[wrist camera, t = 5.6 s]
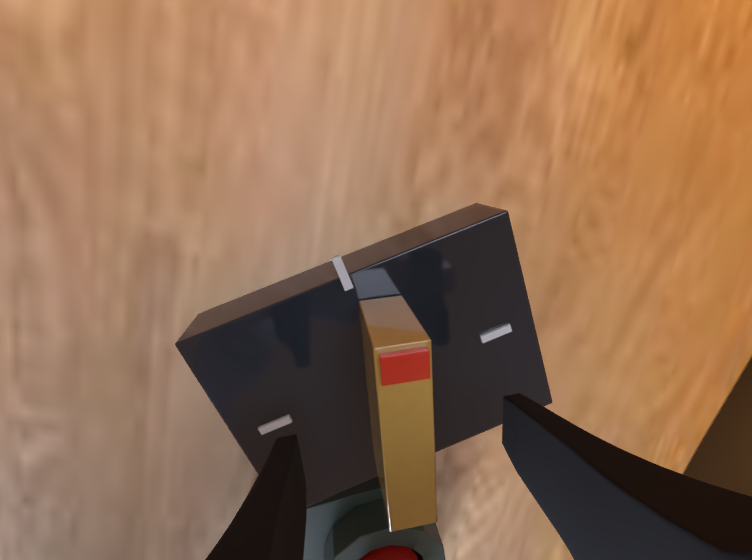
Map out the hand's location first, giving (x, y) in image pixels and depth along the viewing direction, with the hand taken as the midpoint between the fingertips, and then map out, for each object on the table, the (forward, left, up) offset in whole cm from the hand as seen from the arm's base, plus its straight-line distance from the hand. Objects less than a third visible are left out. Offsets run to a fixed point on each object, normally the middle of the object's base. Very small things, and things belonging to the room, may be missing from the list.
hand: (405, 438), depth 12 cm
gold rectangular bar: (0, 0, -4) cm, 4 cm away
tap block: (0, 0, -7) cm, 7 cm away
